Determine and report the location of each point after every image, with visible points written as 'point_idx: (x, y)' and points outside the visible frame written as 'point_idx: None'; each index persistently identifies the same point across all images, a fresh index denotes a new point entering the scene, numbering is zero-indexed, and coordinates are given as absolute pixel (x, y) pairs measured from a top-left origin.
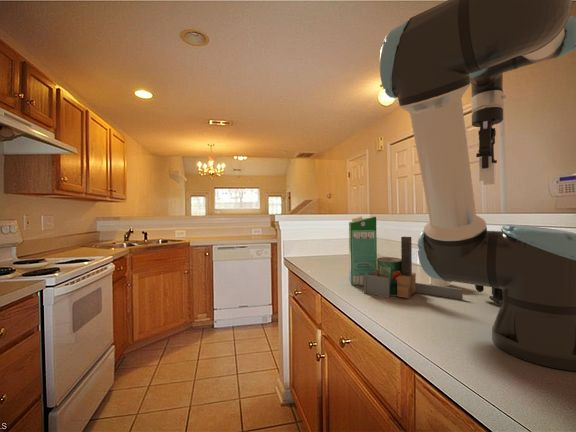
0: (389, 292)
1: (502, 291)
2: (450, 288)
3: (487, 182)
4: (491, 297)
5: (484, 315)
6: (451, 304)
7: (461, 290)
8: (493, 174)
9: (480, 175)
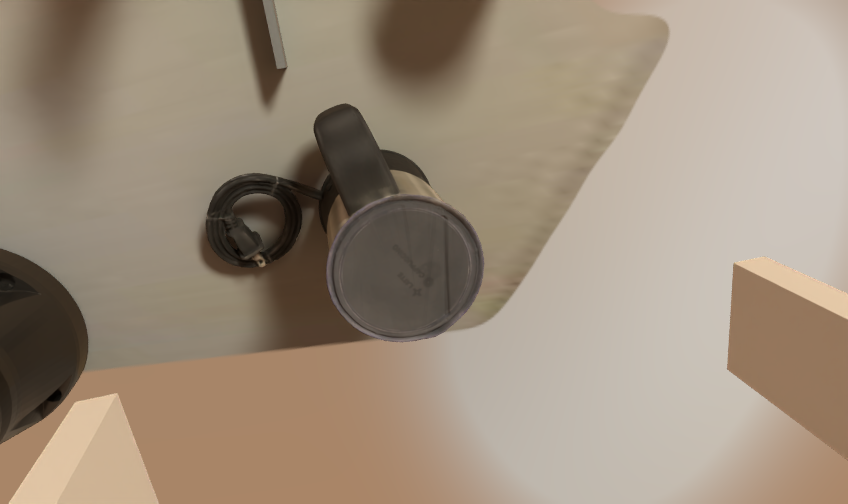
0: None
1: (327, 201)
2: (267, 20)
3: (749, 315)
4: (223, 188)
5: (143, 177)
6: (178, 54)
7: (276, 65)
8: (833, 442)
9: (44, 467)
